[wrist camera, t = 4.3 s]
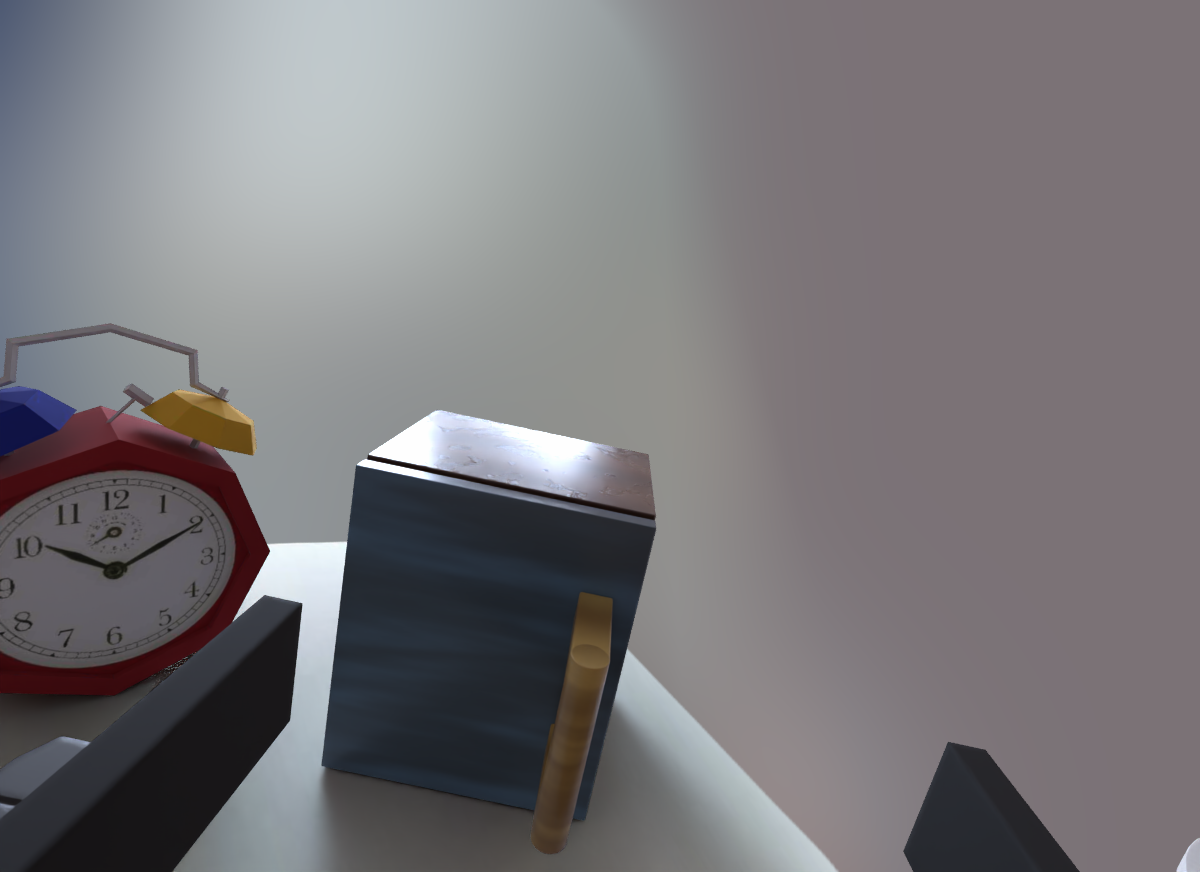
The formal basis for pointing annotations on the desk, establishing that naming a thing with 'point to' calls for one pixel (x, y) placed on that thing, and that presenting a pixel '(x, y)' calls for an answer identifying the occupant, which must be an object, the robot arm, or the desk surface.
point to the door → (481, 641)
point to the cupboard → (525, 462)
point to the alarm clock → (117, 531)
